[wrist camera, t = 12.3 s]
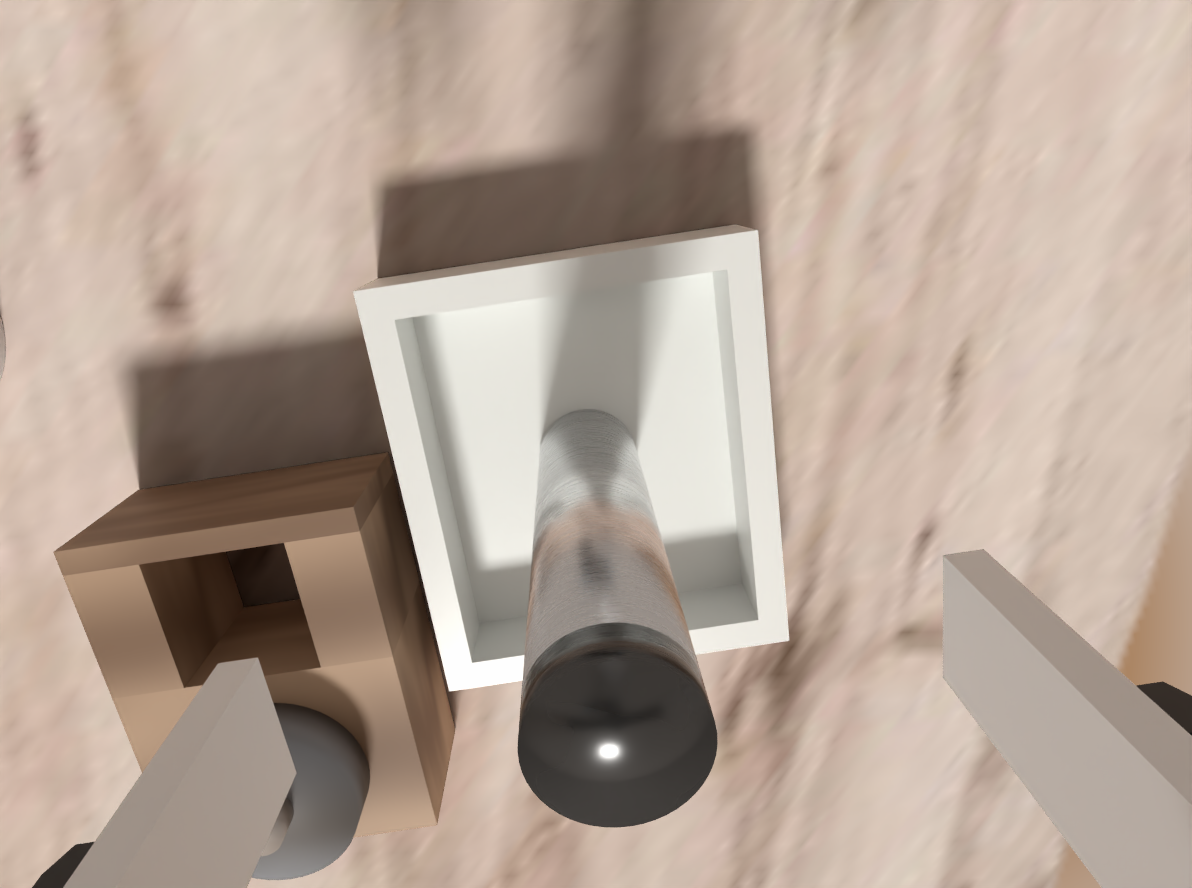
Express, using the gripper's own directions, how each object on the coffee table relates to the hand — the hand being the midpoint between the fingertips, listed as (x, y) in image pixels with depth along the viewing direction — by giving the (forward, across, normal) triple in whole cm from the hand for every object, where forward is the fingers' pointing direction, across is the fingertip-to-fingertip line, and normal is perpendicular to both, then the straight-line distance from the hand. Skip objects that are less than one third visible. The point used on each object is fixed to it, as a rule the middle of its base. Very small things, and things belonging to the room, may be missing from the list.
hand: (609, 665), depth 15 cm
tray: (+14, 0, 0) cm, 14 cm away
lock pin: (+13, 0, 0) cm, 13 cm away
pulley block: (+14, -12, -6) cm, 19 cm away
